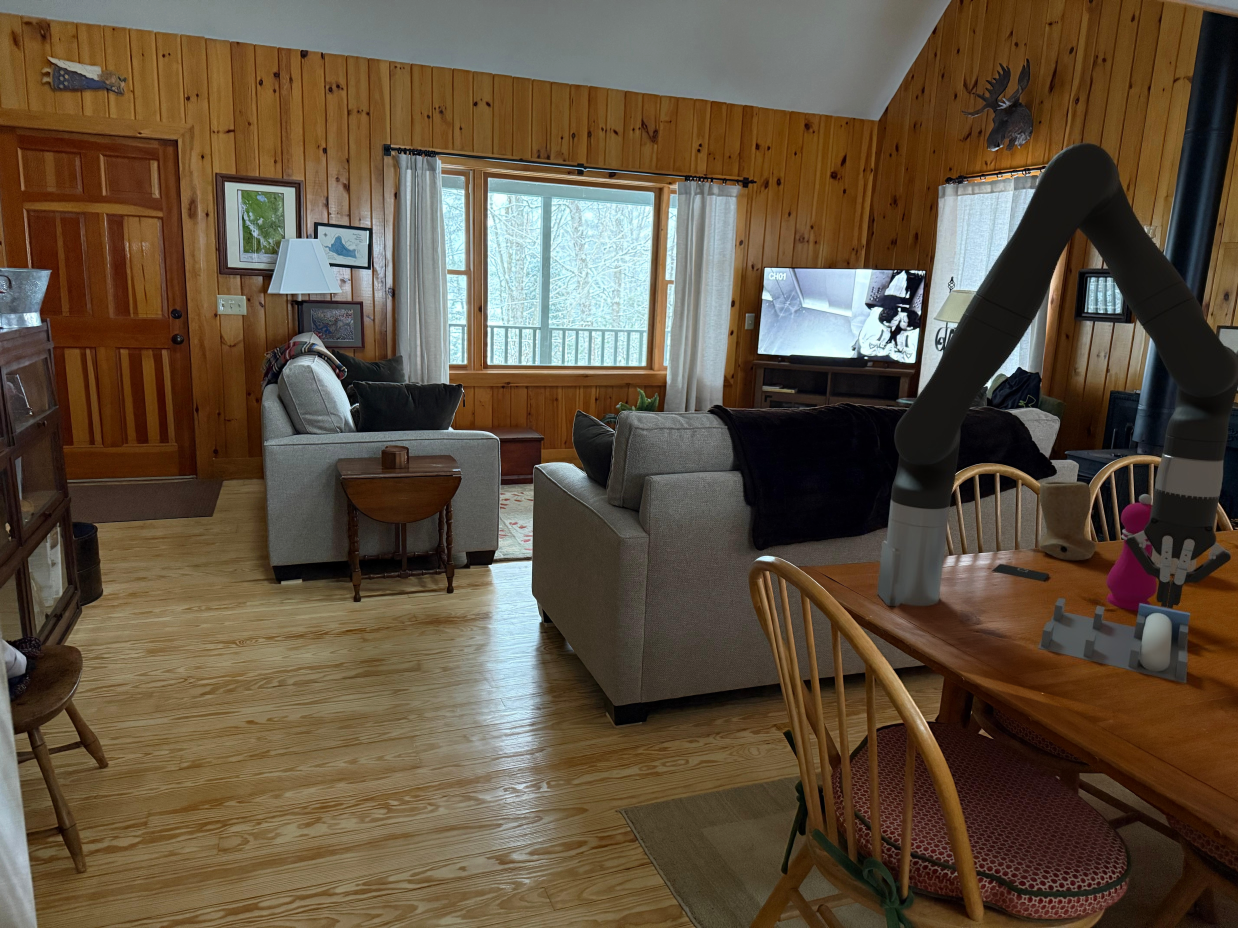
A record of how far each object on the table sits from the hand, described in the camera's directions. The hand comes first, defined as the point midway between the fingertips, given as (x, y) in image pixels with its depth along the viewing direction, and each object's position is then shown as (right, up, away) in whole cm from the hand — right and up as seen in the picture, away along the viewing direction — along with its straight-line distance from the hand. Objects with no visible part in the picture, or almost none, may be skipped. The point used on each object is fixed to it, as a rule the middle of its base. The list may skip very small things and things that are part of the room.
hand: (1167, 606), depth 119 cm
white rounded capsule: (0, -7, +1) cm, 7 cm away
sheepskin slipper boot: (+14, +2, +54) cm, 56 cm away
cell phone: (-6, -2, +34) cm, 34 cm away
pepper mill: (+8, -4, +22) cm, 24 cm away
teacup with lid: (+29, -1, +44) cm, 53 cm away
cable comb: (-5, -7, +5) cm, 10 cm away
